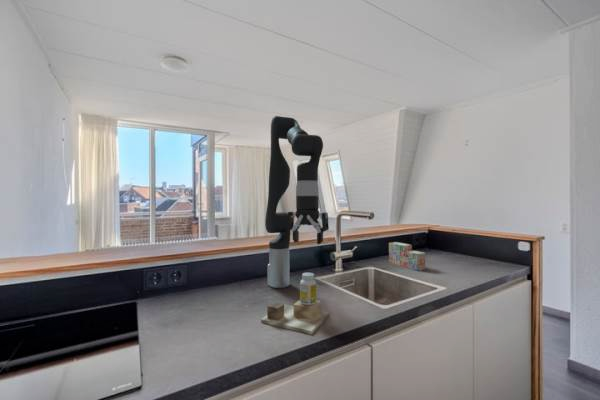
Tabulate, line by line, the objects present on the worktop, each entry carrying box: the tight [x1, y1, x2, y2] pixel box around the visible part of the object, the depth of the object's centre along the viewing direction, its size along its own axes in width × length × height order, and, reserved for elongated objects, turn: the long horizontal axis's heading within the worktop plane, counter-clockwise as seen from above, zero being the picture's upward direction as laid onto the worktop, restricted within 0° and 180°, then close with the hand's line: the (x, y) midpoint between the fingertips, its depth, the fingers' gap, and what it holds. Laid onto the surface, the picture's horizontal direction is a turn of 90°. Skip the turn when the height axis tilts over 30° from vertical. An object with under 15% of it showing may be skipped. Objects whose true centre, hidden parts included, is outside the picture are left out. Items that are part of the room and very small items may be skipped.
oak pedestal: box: [292, 299, 322, 320], centre depth 94 cm, size 7×7×4 cm
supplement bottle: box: [299, 272, 317, 305], centre depth 94 cm, size 5×5×10 cm
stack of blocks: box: [388, 241, 426, 272], centre depth 161 cm, size 21×6×12 cm, turn 26°
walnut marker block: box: [266, 301, 285, 321], centre depth 92 cm, size 4×4×4 cm
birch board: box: [260, 303, 330, 335], centre depth 92 cm, size 18×14×1 cm
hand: (307, 242), depth 94 cm, fingers open, 8 cm apart
